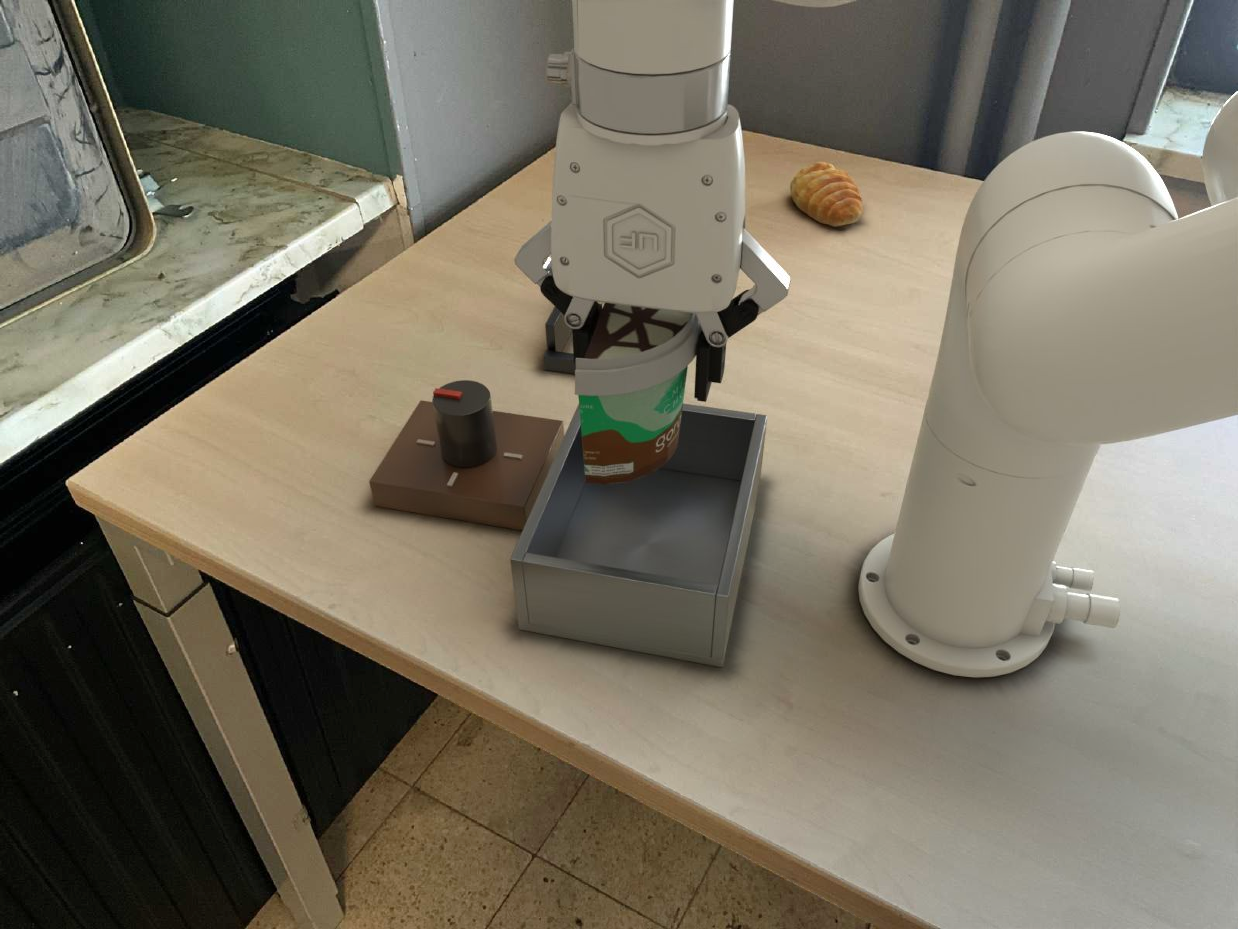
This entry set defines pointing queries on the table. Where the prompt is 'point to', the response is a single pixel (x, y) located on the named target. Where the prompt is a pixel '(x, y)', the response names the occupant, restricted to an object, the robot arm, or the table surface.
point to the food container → (633, 390)
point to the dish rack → (558, 345)
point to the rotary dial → (468, 471)
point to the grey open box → (645, 543)
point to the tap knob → (465, 423)
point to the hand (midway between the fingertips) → (648, 377)
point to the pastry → (827, 194)
